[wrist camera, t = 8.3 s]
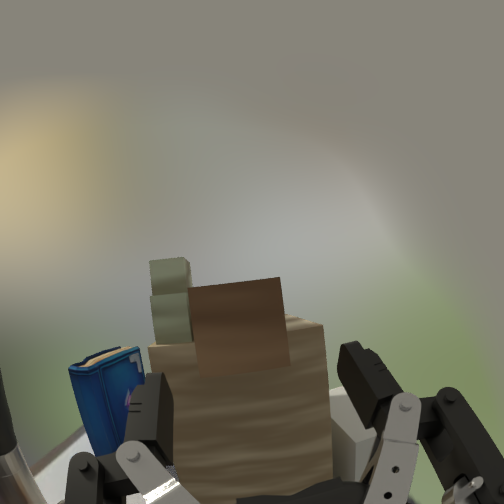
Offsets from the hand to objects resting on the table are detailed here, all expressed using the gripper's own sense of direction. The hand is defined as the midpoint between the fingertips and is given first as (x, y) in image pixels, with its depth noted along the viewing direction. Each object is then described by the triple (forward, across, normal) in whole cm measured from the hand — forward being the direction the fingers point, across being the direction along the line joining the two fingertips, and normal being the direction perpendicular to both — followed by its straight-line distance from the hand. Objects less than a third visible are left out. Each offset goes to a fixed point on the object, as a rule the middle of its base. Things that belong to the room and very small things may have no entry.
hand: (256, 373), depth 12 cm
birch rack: (-2, -1, -36) cm, 36 cm away
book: (+25, -29, -52) cm, 64 cm away
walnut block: (+11, 0, -6) cm, 13 cm away
